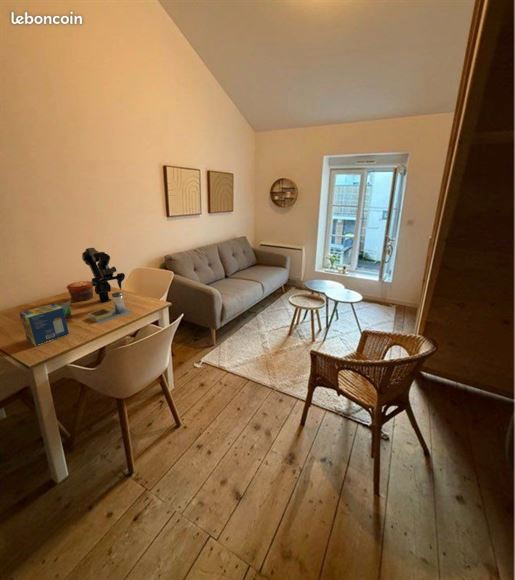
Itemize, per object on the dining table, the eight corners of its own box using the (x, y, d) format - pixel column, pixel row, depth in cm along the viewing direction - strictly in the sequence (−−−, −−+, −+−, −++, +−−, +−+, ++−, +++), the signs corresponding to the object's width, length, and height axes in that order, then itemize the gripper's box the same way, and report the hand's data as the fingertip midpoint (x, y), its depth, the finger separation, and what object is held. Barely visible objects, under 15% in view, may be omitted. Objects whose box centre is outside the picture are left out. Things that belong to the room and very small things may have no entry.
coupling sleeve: (113, 312, 174) (109, 294, 170) (122, 309, 179) (118, 291, 175) (118, 314, 171) (115, 295, 167) (127, 311, 175) (124, 293, 172)
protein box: (27, 341, 143) (18, 312, 138) (60, 329, 155) (54, 303, 150) (35, 347, 138) (27, 317, 133) (69, 334, 150) (63, 307, 145)
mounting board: (87, 320, 167) (86, 318, 166) (120, 308, 183) (120, 306, 183) (99, 325, 159) (99, 323, 159) (133, 313, 176) (133, 311, 175)
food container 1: (54, 324, 162) (49, 307, 159) (49, 321, 166) (45, 305, 162) (77, 317, 171) (73, 301, 168) (73, 314, 175) (69, 299, 172)
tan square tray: (88, 318, 166) (87, 313, 165) (104, 313, 173) (103, 308, 172) (96, 322, 161) (95, 317, 160) (112, 316, 168) (112, 311, 167)
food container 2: (64, 301, 197) (60, 286, 194) (83, 293, 212) (80, 280, 208) (82, 303, 193) (78, 288, 189) (100, 295, 207) (98, 281, 204)
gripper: (89, 265, 168) (98, 288, 165) (121, 260, 180) (131, 281, 177) (87, 274, 176) (96, 296, 173) (119, 269, 189) (127, 289, 185)
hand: (113, 290), depth 177 cm, fingers open, 9 cm apart
